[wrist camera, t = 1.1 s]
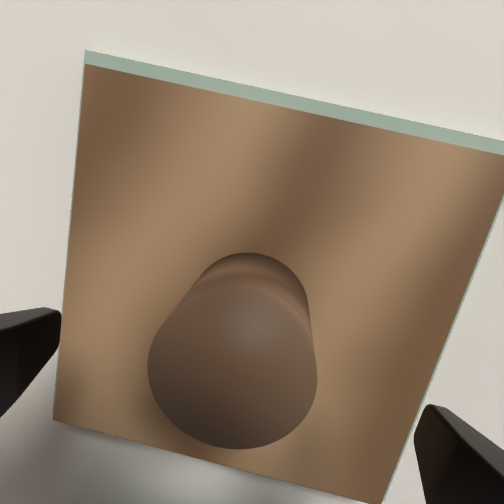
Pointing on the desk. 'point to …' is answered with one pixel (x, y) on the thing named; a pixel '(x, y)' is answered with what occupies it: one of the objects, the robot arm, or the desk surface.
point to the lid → (261, 279)
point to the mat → (300, 105)
